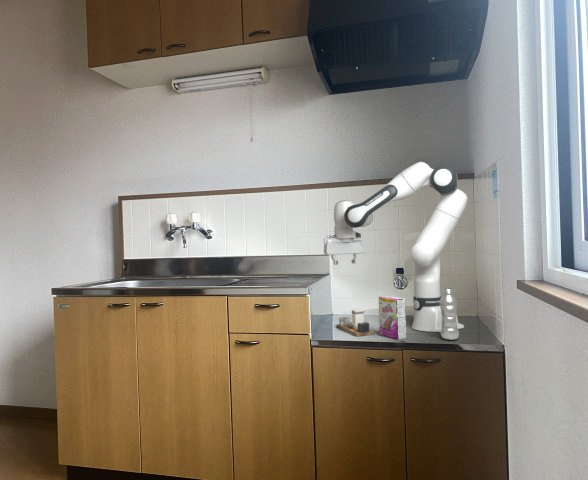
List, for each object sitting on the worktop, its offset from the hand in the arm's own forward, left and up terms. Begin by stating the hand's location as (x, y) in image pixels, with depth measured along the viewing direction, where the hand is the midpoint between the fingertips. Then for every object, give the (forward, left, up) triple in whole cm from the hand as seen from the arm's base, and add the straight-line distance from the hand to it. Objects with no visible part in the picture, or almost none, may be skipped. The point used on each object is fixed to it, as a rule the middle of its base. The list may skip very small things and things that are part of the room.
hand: (344, 263), depth 198 cm
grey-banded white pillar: (+3, +17, -27) cm, 32 cm away
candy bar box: (-6, +30, -29) cm, 42 cm away
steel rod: (+3, +13, -28) cm, 31 cm away
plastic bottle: (-23, +44, -29) cm, 58 cm away
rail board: (+3, +13, -29) cm, 32 cm away
